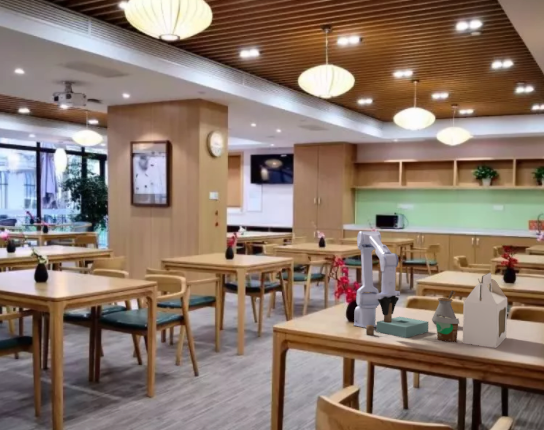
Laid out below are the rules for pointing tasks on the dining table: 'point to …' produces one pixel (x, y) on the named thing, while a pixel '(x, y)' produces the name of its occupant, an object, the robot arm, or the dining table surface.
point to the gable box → (485, 314)
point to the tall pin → (388, 317)
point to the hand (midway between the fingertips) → (387, 314)
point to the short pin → (370, 330)
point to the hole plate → (403, 327)
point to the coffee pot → (444, 308)
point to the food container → (446, 328)
